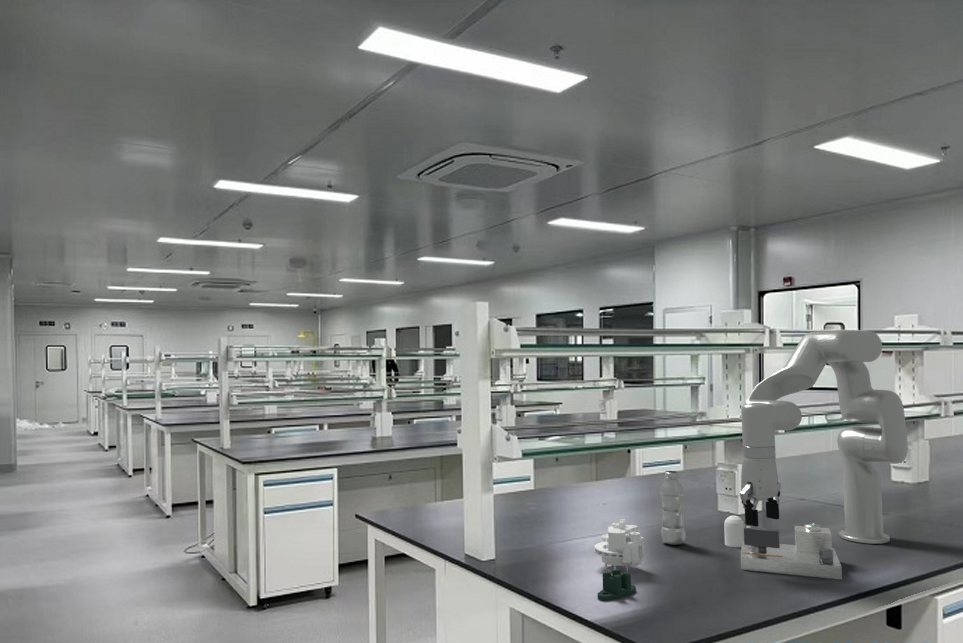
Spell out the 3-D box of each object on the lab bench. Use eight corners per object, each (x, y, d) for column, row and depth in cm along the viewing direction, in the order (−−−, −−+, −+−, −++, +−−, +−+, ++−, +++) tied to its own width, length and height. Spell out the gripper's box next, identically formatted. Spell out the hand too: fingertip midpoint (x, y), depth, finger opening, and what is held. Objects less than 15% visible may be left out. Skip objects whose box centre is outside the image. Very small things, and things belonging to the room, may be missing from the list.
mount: (607, 604, 144) (606, 580, 144) (592, 598, 148) (591, 575, 148) (641, 593, 150) (641, 570, 151) (626, 587, 154) (625, 565, 154)
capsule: (735, 541, 191) (734, 512, 191) (749, 546, 186) (748, 516, 187) (720, 543, 189) (719, 514, 190) (734, 548, 184) (733, 518, 185)
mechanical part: (608, 559, 175) (607, 513, 176) (651, 568, 167) (650, 520, 168) (585, 570, 166) (585, 521, 167) (630, 580, 159) (629, 529, 159)
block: (780, 553, 167) (779, 528, 167) (779, 556, 165) (778, 531, 165) (745, 549, 171) (744, 525, 171) (744, 552, 168) (743, 527, 169)
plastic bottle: (666, 539, 194) (665, 469, 195) (689, 543, 189) (687, 471, 190) (657, 544, 189) (655, 472, 190) (680, 548, 184) (678, 474, 185)
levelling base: (742, 552, 180) (740, 515, 181) (834, 560, 172) (833, 521, 173) (740, 569, 166) (739, 529, 166) (841, 579, 157) (840, 537, 158)
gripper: (763, 447, 177) (766, 513, 177) (726, 455, 167) (729, 525, 166) (791, 450, 171) (794, 518, 171) (754, 458, 161) (758, 531, 160)
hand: (762, 521), depth 168 cm, fingers open, 9 cm apart
